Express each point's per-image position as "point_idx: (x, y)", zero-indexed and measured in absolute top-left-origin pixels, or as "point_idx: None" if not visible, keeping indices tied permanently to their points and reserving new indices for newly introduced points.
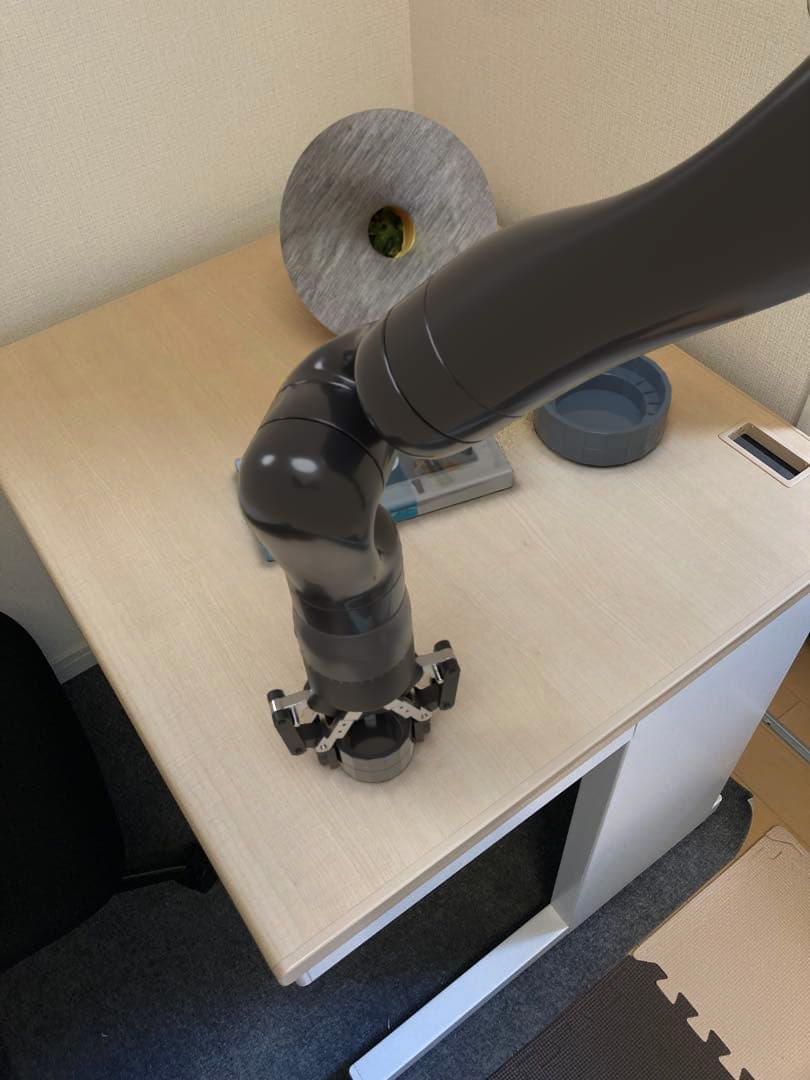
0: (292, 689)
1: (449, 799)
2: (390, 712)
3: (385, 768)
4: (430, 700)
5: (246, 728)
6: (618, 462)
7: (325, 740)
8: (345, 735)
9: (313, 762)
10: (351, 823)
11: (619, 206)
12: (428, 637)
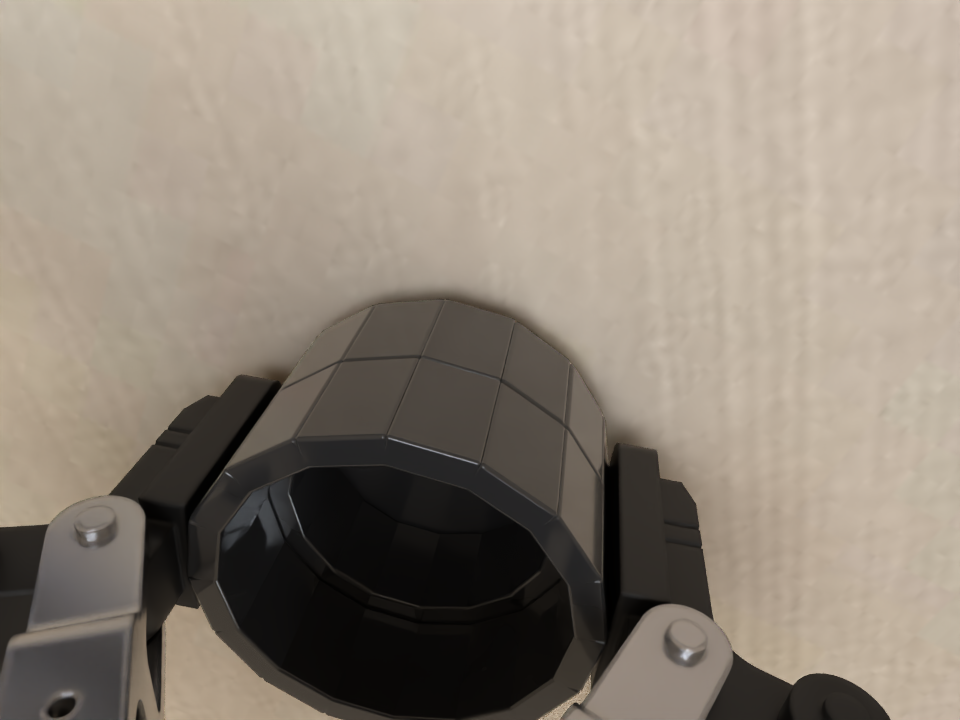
0: None
1: (220, 87)
2: (313, 551)
3: (423, 363)
4: (13, 602)
5: None
6: None
7: (669, 713)
8: (533, 546)
9: (694, 489)
10: (690, 195)
11: None
12: None
